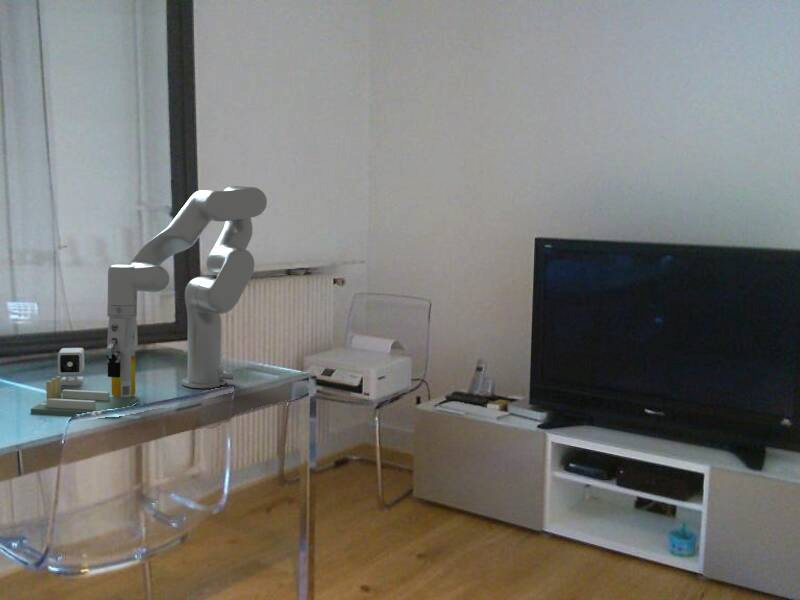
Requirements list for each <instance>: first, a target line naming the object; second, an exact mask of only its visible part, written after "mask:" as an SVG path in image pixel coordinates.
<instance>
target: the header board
mask: <svg viewBox="0 0 800 600" xmlns="http://www.w3.org/2000/svg"><path fill="white" fill-rule="evenodd" d="M61 380H62V376H61V375H60V376H59V375H57V376H55V378H51V379H50V380H46V381H45V383H46V385H45V386H46V389H45V390H46V393H45V394H46V399H45V400H44V401H42V402H40V403H38V404H37V405H35V406H34V407H32V408H30V414H31V415H38V414H39V415H48V416H49V415H52V416H53V415H54V416H69V417H74V416H73V415H76V414H82V413H87V412H93V411H101V410H107V409H115V408H122V407H127V406H132V405H133V404H135V403H137V402H140V401H139V398H137V397H135V398H134V397H132V398H120V397H114V396H110V391H104V390H103V391H101V390H99V391H98V390H85V389H84V390H83V389H81V390H80V389H63V390H61V389H62V386H61Z"/></svg>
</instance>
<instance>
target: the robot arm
mask: <svg viewBox="0 0 800 600" xmlns="http://www.w3.org/2000/svg"><path fill="white" fill-rule="evenodd" d="M267 204H268V201H267V196H266V194H265V193H264V191H263V190H261V189H260V188H258V187H254V186H239V185H232V186H228V187H226V188H225V189H224V190H211V189H210V190H208V189H200V190H197V191H195V192H193V194H192V195H191V196H190V197H189V198H188V200H186V202H185V204H184V205H183V206H182V208H181V209H180V210H179V211H178V213H177V214H176V216H175V217H174V218H173V219H172V221H171V222H170V223H169V225H168V226H167V227H166V228H165V229H164V230H162V231H161V232H159V233H158V234H157V235H156V236H154V237H153V238H152V239H151V240H149V241H148V242H147V243H145V245H143V246H142V248H140V249H139V251H138V252H137V254H136V255H135V257H133V259H132V260H131V262H130V263H129V264H117V263H116V264H112V265H110V266H109V267H108V270H107V311H106V312H107V315H106V316H107V317H108V327H107V340H106V341H107V344H106V345H107V347H106V357H107V358H106V359H107V360H106V361H107V378H112V377H116V378H119V377H120V365H121V363H120V362H119V360H120V357H121V354H122V353H123V355H126V354H128V353H129V352H130V347H131V344H132V343H133V344H134V346H135V351H136V350H137V349H138V344H139V343H138V342H139V341H138V322H137V317H138V292H146V293H147V292H148V293H158V292H162V291H164V290H165V289H167V287H168V286H169V283H170V275H169V273H168V271H167V269H166V268H164V267H163V266H161V265H162V264H163V263H164V262H165V261H166V260H168V259H169V258H171V257H172V256H174V255H176V254H178V253H181V252H184V251H186V250H188V249H190V248H191V247H194V245H195V244H196V242H197V241H198V239H200V236H201V235H202V234H203V233H204V231H205V230H206V228H207V227H208V226H209V225H210V224H211V222H224V226H223V229H222V231H221V232H220V234H219V236H218V238H217V240H216V242H215V244H214V245H213V247H212V249H211V251H210V252H209V254H208V256H207V258H206V264H205V265H206V269H207V270H208V271H209V272H210V273H211V274H212V275H214V276H216V278H213V277H209V276H197V277H194V278H192V279H191V280H189V282H188V283H187V285H186V287H185V290H184V303H185V307H186V313H187V376H185V377H184V378H182V379H181V384H182V386H184V387H188V388H191V389H192V388H193V389H212V388H219V387H221V386H220V385H222V386H225V384H226V383H227V382H226V381H227V380H228V381H229V380H231V381H235V378H236V373H233V371H226V370H224V367H223V366H222V319H221V315H223V314H228V313H229V312H230V311H232V310H233V309H234V307H236V305H237V304H238V302H239V300H240V299H241V296H242V295H243V293H244V291H245V289H246V287H247V285H248V283H249V282H250V281H251V278H252V276H253V274H254V270H255V259H254V257H253V255H252V253H251V252H250V251H249V250H248V249H247V248H248V246H249V243H250V242H251V240H252V236H253V231H254V230H253V223H252V218H255V217H259V216H260V215H261V214H263V212H264V211H265V210H266V208H267ZM115 355H117V357H116V356H115Z"/></svg>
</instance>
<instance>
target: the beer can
mask: <svg viewBox="0 0 800 600" xmlns="http://www.w3.org/2000/svg"><path fill="white" fill-rule="evenodd" d="M115 356H116V357H117V355H115ZM119 362H120V363H121V365H120V377H119V378H116V377H111V396H112V397H120V398H131V397H132V398H134V396H135V395H136V350H135V346H134V344H133V343H132V344H131V347H130V352H129V353H128V354H126V355H123V353H122V354H121V357H120V360H119Z"/></svg>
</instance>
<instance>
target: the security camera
mask: <svg viewBox="0 0 800 600" xmlns="http://www.w3.org/2000/svg"><path fill="white" fill-rule="evenodd" d="M84 368H85V349H84V348H83V347H63V348H61V349H60V350H59V352H58V353H57V373H58V374H59V375H60V376H63V375H65V376H63V377H61V385H68V386H67V387H71V386H72V385H73V386H74V385H75V386H76V387H77V385H79V386H82V385H83V382H84V377H83V376H78V375H81V374H82V373H83V371H84ZM69 375H74V376H73V377H72V376H69ZM69 385H71V386H69ZM73 386H72V387H73Z"/></svg>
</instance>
